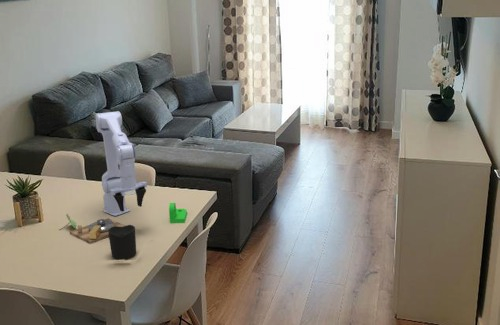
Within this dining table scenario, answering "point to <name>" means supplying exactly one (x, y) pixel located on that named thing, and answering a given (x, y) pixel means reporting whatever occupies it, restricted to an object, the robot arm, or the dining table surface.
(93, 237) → the pan with wooden handle
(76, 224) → the seedling
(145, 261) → the dining table surface
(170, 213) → the mechanical part
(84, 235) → the board
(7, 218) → the dining table surface
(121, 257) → the pen holder
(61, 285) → the dining table surface
